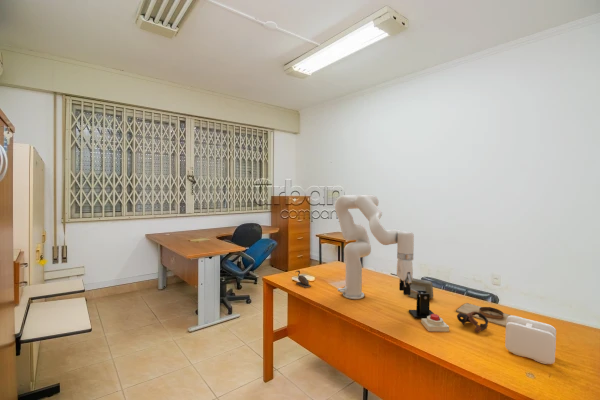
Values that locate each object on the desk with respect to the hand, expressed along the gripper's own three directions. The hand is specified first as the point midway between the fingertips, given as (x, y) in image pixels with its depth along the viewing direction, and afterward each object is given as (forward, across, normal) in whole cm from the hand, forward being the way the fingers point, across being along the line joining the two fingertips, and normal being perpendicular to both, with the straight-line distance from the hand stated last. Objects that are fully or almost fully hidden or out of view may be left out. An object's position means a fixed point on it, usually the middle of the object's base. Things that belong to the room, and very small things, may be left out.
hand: (404, 292), depth 140 cm
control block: (+12, +12, +10) cm, 19 cm away
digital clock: (+12, -26, +17) cm, 33 cm away
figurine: (+12, -45, -52) cm, 70 cm away
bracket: (+12, 0, +9) cm, 15 cm away
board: (+12, -1, +42) cm, 43 cm away
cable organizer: (+12, +32, +36) cm, 50 cm away
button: (+8, +12, +10) cm, 17 cm away
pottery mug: (+12, +12, +26) cm, 31 cm away
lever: (+1, 0, +4) cm, 4 cm away
